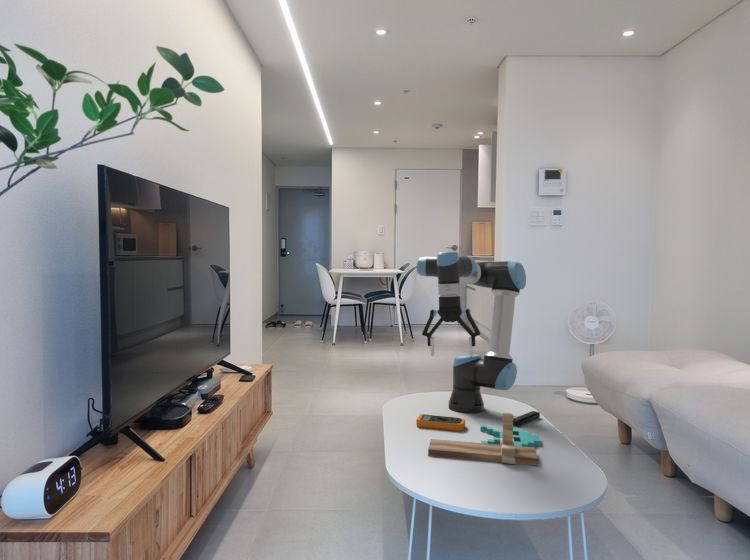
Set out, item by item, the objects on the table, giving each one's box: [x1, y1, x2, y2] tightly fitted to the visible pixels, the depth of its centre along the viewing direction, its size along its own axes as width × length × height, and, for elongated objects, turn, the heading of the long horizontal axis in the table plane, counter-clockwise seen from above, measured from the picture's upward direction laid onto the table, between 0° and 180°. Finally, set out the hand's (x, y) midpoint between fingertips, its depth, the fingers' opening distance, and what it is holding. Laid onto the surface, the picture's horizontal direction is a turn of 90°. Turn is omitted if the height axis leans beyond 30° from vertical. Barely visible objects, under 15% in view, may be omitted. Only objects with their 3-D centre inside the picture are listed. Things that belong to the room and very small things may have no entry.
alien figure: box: [480, 424, 541, 448], centre depth 175 cm, size 20×2×20 cm
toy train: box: [513, 410, 541, 428], centre depth 198 cm, size 18×3×3 cm, turn 135°
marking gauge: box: [499, 412, 516, 465], centre depth 158 cm, size 10×4×13 cm, turn 169°
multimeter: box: [415, 413, 466, 432], centre depth 190 cm, size 9×18×3 cm, turn 74°
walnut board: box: [427, 438, 539, 466], centre depth 162 cm, size 10×34×2 cm, turn 78°
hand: (451, 355), depth 176 cm, fingers open, 13 cm apart
